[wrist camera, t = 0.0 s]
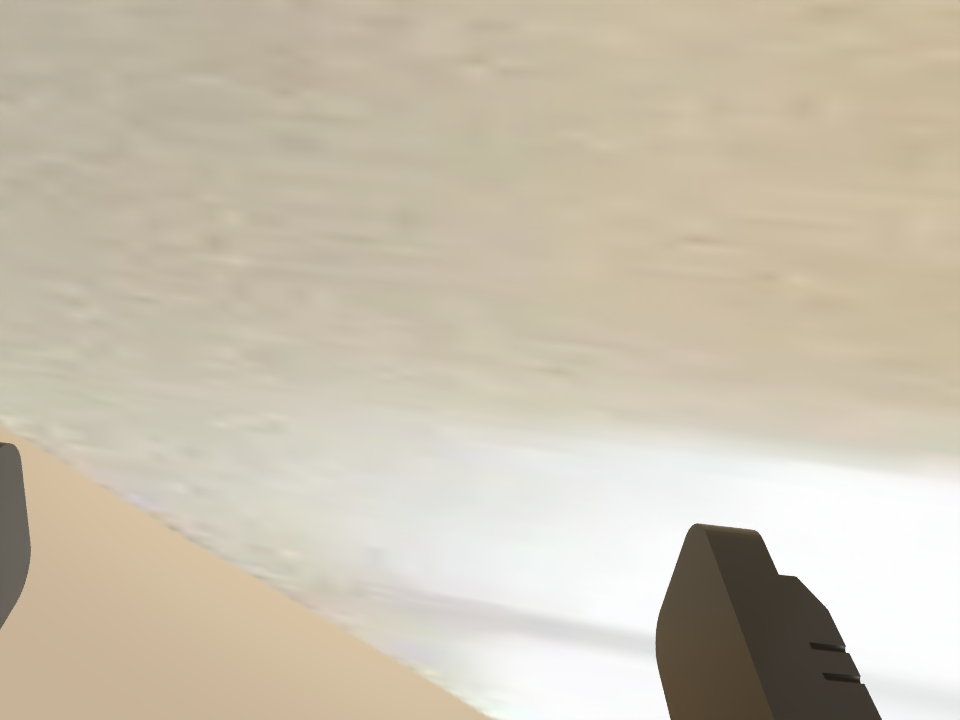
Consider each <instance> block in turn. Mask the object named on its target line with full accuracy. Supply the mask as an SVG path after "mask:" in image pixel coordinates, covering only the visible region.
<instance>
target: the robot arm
mask: <svg viewBox="0 0 960 720" xmlns="http://www.w3.org/2000/svg"><path fill="white" fill-rule="evenodd" d="M30 552H31V547H30V536H29V527H28V519H27V509H26V501H25V492H24V483H23V473H22V465H21V458H20V454H19V451H18V449H17V448H16V446H14V445H13V444H10V443H2V442H0V629H1V627H2V625H3V624H4V622H5V621H6V619H7V617H8V616H9V614H10V612H11V610H12V609H13V607H14V606H15V604H16V602H17V600H18V598H19V597H20V594H21V592H22V589H23V587H24V584H25V581H26V577H27V573H28V569H29V563H30ZM845 647H846V646H845V644H844V642H843V639H842V637H841V635H840V633H839V631H838V629H837V627H836V625H835V623H834V621H833V619H832V617H831V615H830V613H829V611H828V609H827V608H826V607H825V606H824V605H823V604H822V603H821V602H820V601H819V600H818V599H817V598H816V597H815V596H814V595H813V594H812V593H811V592H810V591H809V589H808V588H807V587H806V586H805V585H804V584H803V583H802V582H801V581H800V580H799V579H798V578H797V577H795V576H785V575H779V574H778V572H777V570H776V568H775V565H774V563H773V561H772V559H771V557H770V554H769V552H768V550H767V548H766V545H765V543H764V541H763V539H762V537H761V535H760V534H759V533H758V532H757V531H755V530H750V529H741V528H732V527H723V526H715V525H706V524H694V525H693V526H692V527H691V528H690V529H689V531H688V533H687V535H686V537H685V540H684V543H683V546H682V549H681V552H680V555H679V558H678V561H677V563H676V566H675V569H674V572H673V575H672V578H671V581H670V584H669V587H668V590H667V592H666V595H665V598H664V601H663V604H662V607H661V610H660V613H659V617H658V622H657V628H656V658H657V665H658V669H659V674H660V678H661V682H662V686H663V690H664V694H665V698H666V702H667V706H668V710H669V714H670V718H671V720H882V719H881V717H880V715H879V713H878V711H877V709H876V707H875V705H874V703H873V701H872V699H871V696H870V694H869V692H868V690H867V688H866V686H865V684H861V683H860V674H859V672H858V670H857V668H856V666H855V664H854V662H853V660H852V658H851V656H850V654H849V653H846V652H845Z"/></svg>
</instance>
